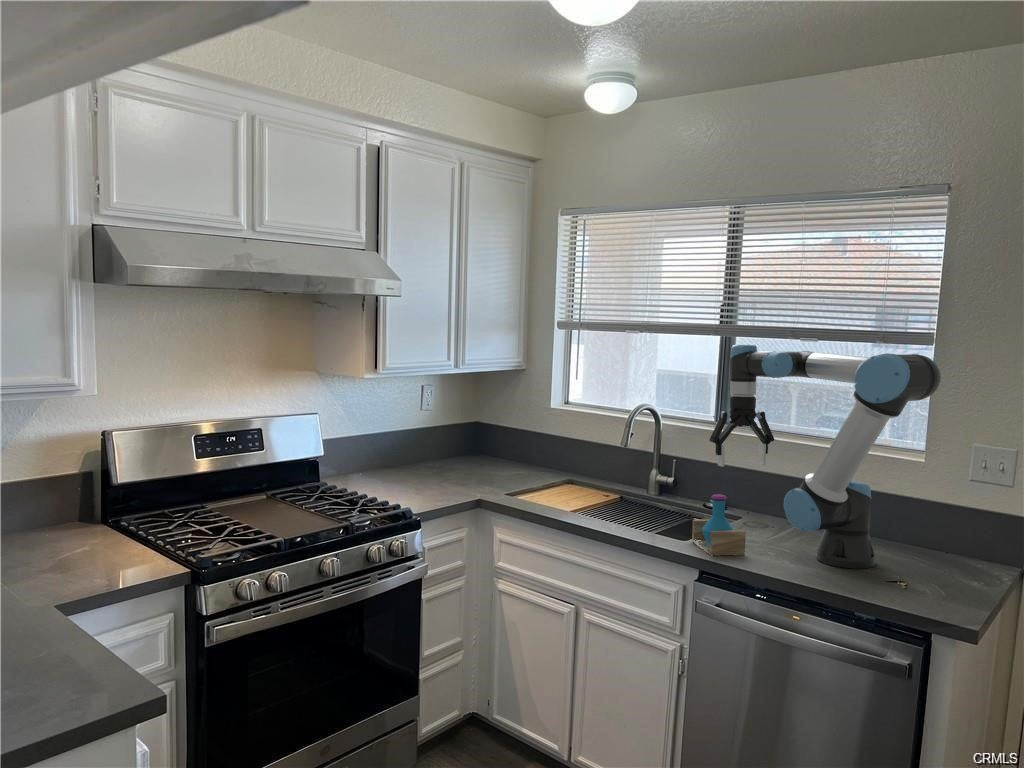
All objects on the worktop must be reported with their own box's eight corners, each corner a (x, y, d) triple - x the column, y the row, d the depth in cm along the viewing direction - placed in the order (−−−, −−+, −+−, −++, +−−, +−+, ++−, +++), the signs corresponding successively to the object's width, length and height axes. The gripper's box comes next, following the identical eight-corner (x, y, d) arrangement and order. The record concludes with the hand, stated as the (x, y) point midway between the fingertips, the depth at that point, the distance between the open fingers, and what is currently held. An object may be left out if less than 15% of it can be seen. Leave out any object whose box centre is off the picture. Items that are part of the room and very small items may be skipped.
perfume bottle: (732, 542, 228) (733, 493, 227) (735, 550, 219) (736, 499, 218) (701, 540, 229) (702, 491, 228) (702, 548, 220) (703, 497, 219)
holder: (744, 555, 217) (745, 531, 217) (712, 556, 216) (712, 532, 216) (722, 541, 232) (723, 519, 232) (692, 542, 231) (692, 519, 230)
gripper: (773, 394, 234) (772, 462, 235) (699, 395, 229) (698, 464, 230) (787, 396, 227) (785, 466, 228) (710, 396, 222) (709, 468, 223)
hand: (741, 465), depth 229 cm, fingers open, 13 cm apart
